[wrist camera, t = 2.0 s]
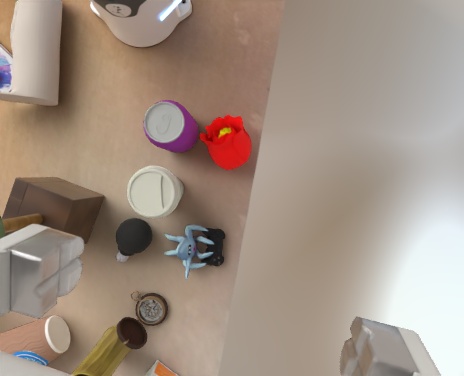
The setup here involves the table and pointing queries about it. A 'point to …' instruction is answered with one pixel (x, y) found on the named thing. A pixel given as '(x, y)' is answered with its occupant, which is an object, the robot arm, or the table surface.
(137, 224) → the light bulb
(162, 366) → the cosmetic box
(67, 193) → the lamp
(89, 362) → the vase
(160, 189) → the coffee cup
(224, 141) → the flower
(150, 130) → the beverage can
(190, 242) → the figurine
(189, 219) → the table surface
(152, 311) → the compass
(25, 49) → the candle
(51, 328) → the coffee cup
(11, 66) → the smartphone
